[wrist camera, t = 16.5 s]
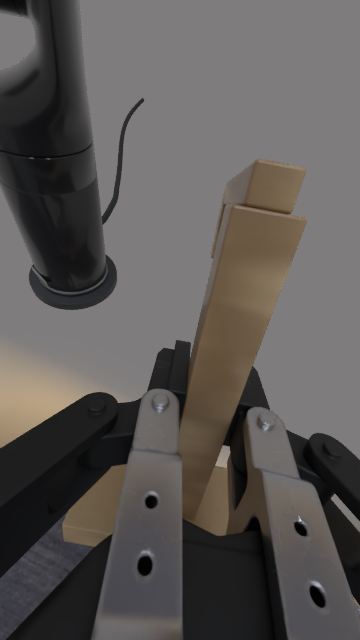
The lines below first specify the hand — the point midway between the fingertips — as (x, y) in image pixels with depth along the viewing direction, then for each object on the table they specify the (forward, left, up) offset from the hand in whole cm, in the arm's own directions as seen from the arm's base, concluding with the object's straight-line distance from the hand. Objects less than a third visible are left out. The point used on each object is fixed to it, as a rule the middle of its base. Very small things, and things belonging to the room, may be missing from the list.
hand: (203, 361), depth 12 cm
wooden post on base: (+4, -2, -7) cm, 8 cm away
